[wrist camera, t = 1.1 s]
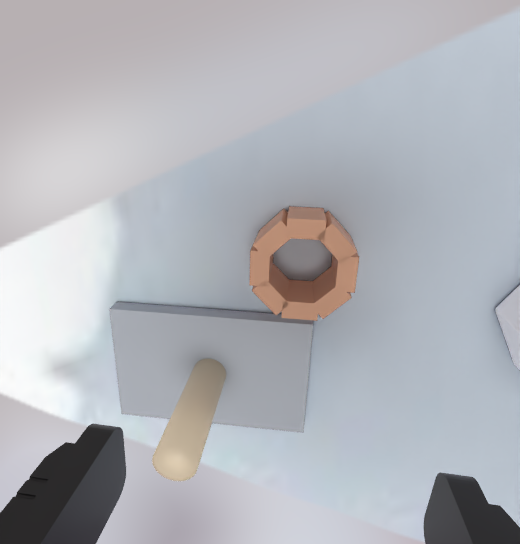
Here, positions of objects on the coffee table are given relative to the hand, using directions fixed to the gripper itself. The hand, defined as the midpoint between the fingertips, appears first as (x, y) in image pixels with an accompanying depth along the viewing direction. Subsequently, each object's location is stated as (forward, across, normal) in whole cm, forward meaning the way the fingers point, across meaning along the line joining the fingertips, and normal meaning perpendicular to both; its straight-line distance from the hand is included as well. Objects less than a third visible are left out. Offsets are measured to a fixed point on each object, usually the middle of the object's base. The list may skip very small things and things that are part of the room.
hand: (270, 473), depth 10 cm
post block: (+16, +5, +8) cm, 19 cm away
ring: (+16, -1, -1) cm, 17 cm away
